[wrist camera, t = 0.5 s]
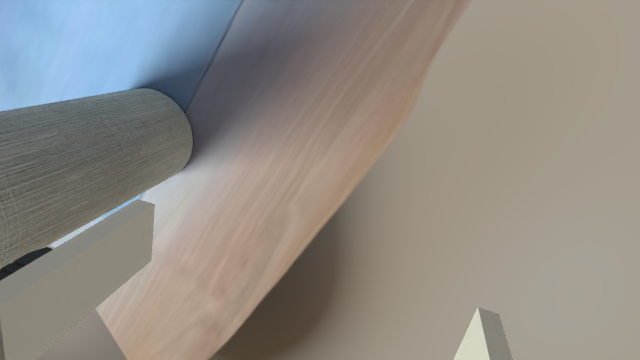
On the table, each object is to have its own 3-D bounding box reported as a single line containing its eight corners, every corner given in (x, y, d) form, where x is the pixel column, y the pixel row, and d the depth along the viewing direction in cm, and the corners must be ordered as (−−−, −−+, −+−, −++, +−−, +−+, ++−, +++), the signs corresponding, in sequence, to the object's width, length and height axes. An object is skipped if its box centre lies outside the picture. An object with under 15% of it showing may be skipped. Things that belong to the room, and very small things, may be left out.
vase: (171, 75, 41) (-202, 127, 16) (208, 165, 44) (-68, 331, 19) (98, 102, 44) (-313, 183, 19) (136, 185, 47) (-185, 352, 22)
